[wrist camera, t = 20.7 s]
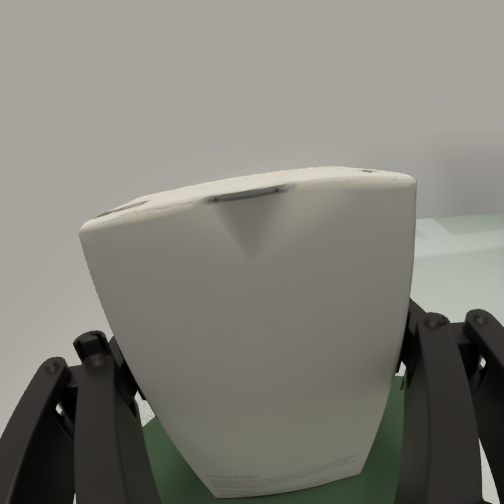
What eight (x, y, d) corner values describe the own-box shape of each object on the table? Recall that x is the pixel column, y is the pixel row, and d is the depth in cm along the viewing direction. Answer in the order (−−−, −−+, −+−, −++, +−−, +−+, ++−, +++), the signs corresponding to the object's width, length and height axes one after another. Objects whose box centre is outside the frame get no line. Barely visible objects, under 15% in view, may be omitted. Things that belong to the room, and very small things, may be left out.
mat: (84, 481, 10) (80, 477, 10) (231, 349, 24) (230, 344, 24) (367, 616, 1) (370, 617, 1) (432, 383, 16) (434, 378, 15)
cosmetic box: (335, 409, 15) (341, 165, 11) (363, 480, 10) (430, 167, 5) (208, 426, 15) (145, 188, 11) (205, 504, 9) (68, 208, 5)
